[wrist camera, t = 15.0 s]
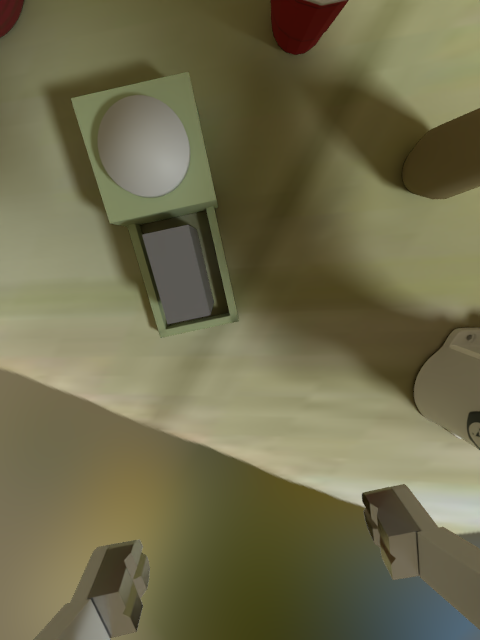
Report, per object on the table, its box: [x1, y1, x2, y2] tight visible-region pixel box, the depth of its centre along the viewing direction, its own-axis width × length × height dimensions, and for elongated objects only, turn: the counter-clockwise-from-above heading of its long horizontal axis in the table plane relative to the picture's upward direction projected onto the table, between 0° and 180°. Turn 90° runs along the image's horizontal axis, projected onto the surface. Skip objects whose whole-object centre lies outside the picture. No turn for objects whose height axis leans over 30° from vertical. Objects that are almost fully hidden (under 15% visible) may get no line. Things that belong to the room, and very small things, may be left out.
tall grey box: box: [142, 225, 214, 324], centre depth 34 cm, size 5×10×8 cm, turn 12°
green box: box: [71, 72, 239, 338], centre depth 33 cm, size 12×27×7 cm, turn 12°
